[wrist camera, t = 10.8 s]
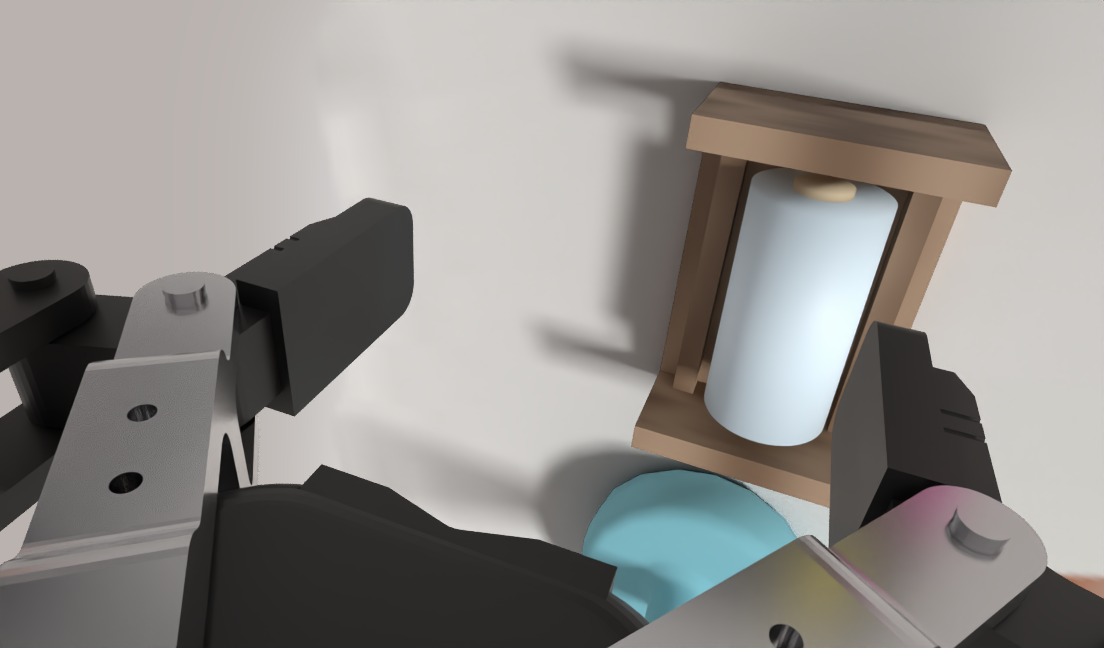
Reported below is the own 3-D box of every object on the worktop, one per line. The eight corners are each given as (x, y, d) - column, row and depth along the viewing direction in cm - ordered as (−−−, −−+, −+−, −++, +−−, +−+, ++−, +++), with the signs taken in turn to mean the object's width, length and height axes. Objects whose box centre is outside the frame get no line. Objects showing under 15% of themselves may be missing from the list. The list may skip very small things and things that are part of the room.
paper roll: (823, 394, 33) (821, 465, 29) (711, 367, 34) (694, 431, 30) (895, 174, 28) (906, 221, 23) (759, 152, 29) (746, 193, 25)
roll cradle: (661, 377, 37) (631, 446, 32) (720, 82, 29) (691, 114, 25) (862, 433, 35) (862, 518, 30) (985, 124, 27) (1011, 170, 22)
